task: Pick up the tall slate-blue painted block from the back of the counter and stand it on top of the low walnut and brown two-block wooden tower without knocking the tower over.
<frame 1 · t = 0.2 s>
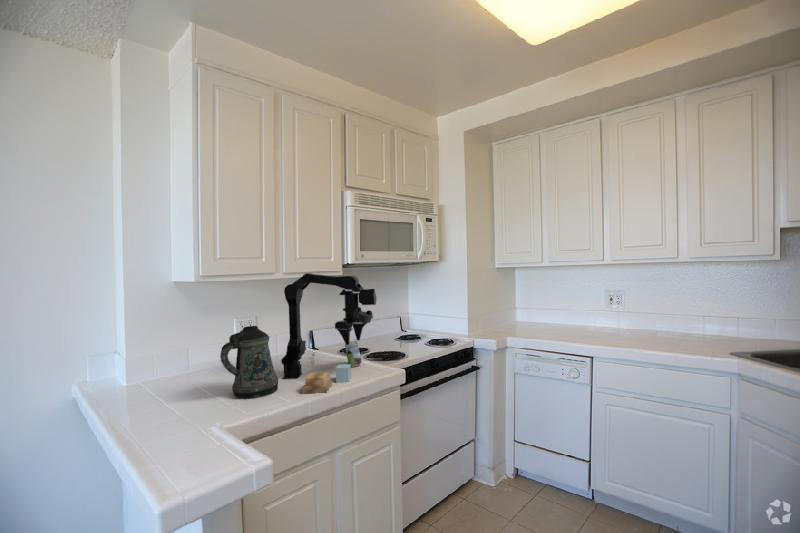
hand: (353, 342, 159), 14 cm above the table, tool pointing down, fingers open, 9 cm apart
beer stein: (253, 393, 143), on the table
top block: (317, 383, 144), point 2 cm above the table, touching bottom block
bottom block: (317, 391, 144), on the table, touching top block
slate block: (343, 380, 153), on the table
beverage can: (353, 366, 175), on the table
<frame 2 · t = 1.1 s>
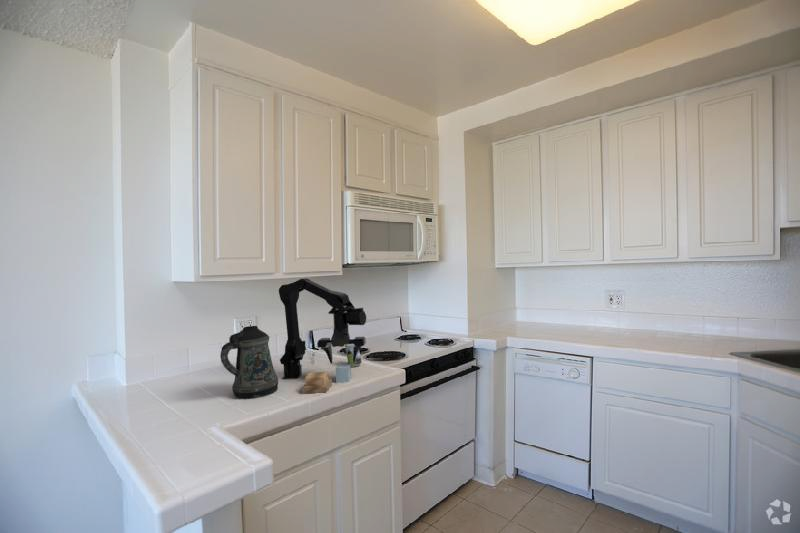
hand: (342, 363, 153), 7 cm above the table, tool pointing down, fingers open, 9 cm apart
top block: (317, 382, 144), point 2 cm above the table
bottom block: (317, 391, 144), on the table
everything else where it was.
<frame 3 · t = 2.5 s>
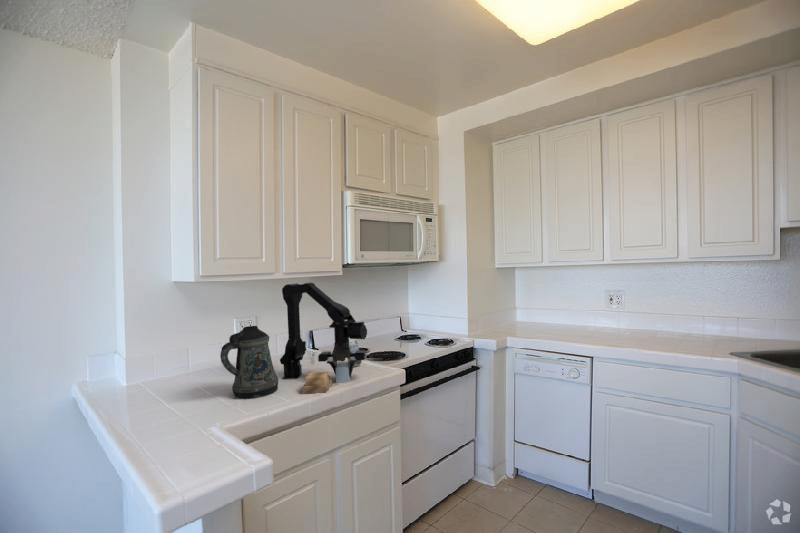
hand: (343, 376, 153), 2 cm above the table, tool pointing down, fingers closed on slate block, 5 cm apart
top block: (317, 382, 144), point 2 cm above the table, touching bottom block
bottom block: (317, 391, 144), on the table, touching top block
slate block: (343, 380, 153), on the table, touching gripper
everything else where it was.
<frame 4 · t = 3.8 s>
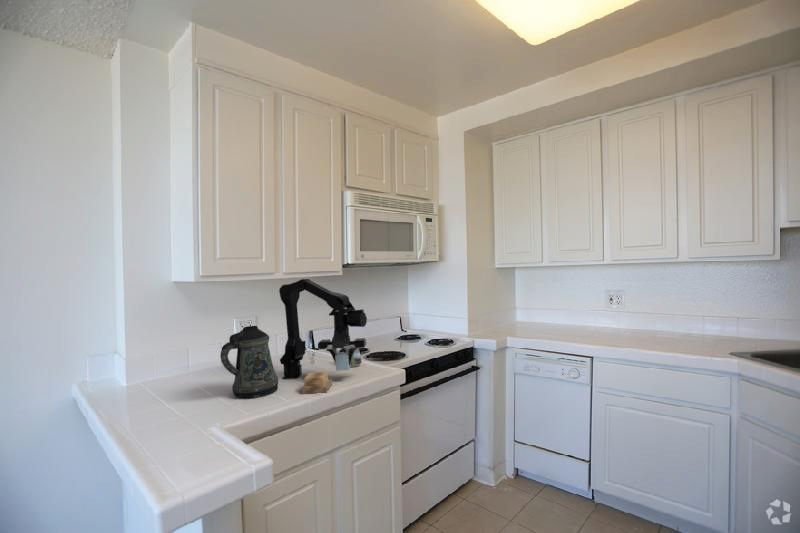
hand: (343, 364, 153), 6 cm above the table, tool pointing down, fingers closed on slate block, 5 cm apart
slate block: (343, 368, 153), point 5 cm above the table, touching gripper
everything else where it was.
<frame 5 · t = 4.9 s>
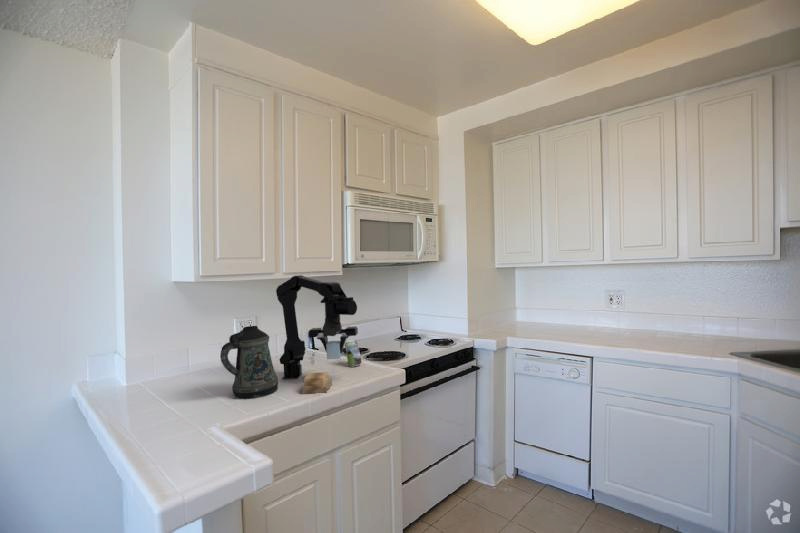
hand: (334, 353, 150), 12 cm above the table, tool pointing down, fingers closed on slate block, 5 cm apart
slate block: (334, 357, 150), point 10 cm above the table, touching gripper
everything else where it was.
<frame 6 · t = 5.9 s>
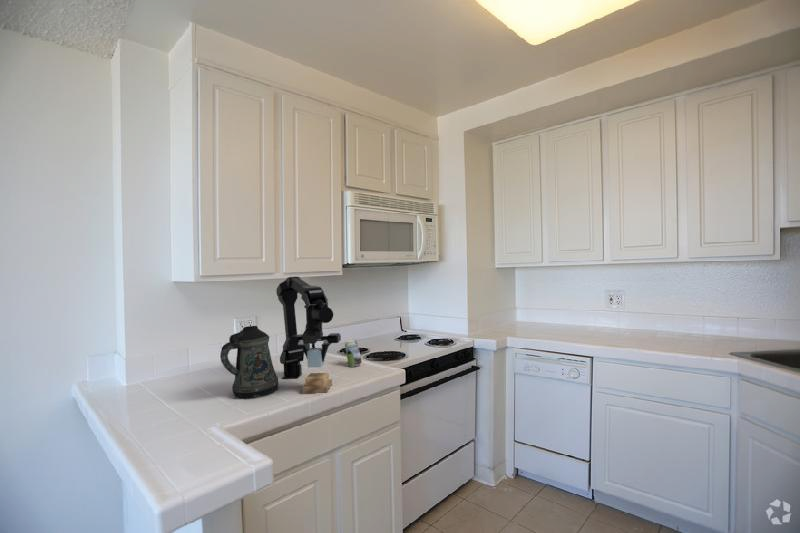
hand: (316, 361, 144), 11 cm above the table, tool pointing down, fingers closed on slate block, 5 cm apart
slate block: (316, 365, 144), point 9 cm above the table, touching gripper
everything else where it was.
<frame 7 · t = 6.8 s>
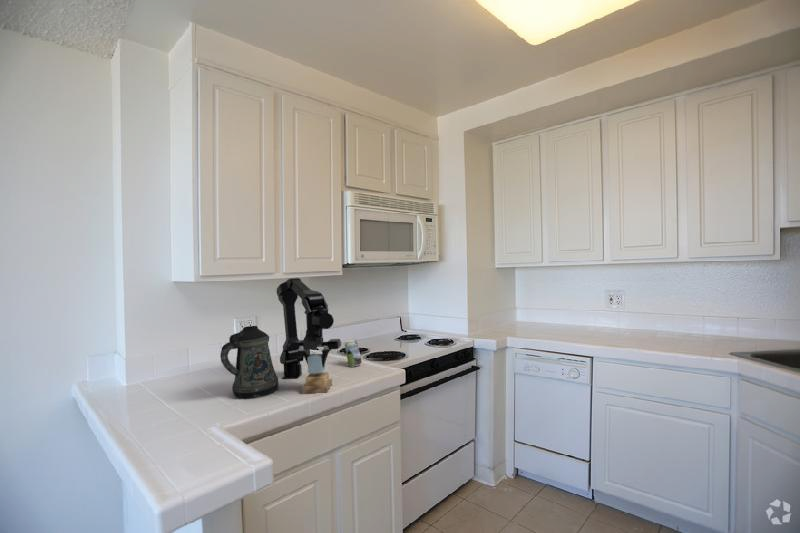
hand: (316, 367, 144), 8 cm above the table, tool pointing down, fingers closed on slate block, 5 cm apart
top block: (317, 383, 144), point 2 cm above the table
bottom block: (317, 391, 144), on the table
slate block: (316, 371, 144), point 7 cm above the table, touching gripper
everything else where it was.
when the fingers open (8 cm above the table, at t = 7.1 s): slate block drops 2 cm, resting on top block.
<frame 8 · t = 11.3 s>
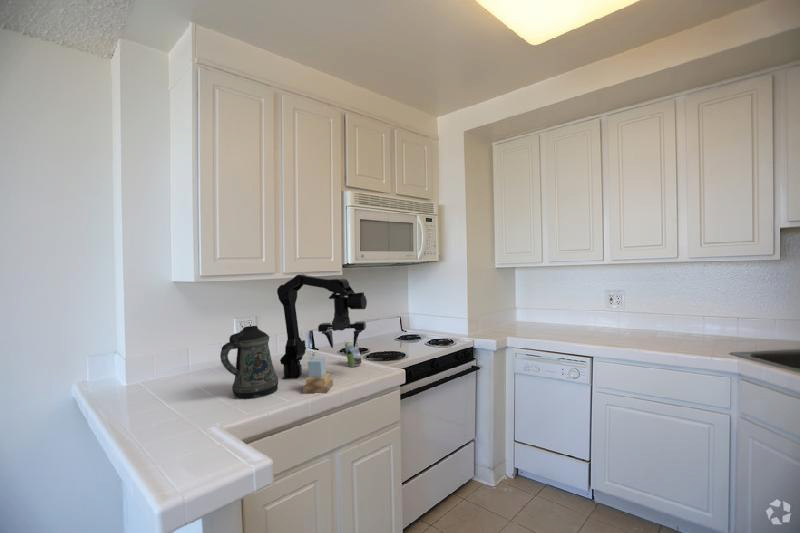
hand: (343, 347, 155), 13 cm above the table, tool pointing down, fingers open, 9 cm apart
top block: (318, 383, 143), point 2 cm above the table, touching bottom block, slate block
bottom block: (318, 391, 144), on the table, touching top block
slate block: (317, 375, 144), point 5 cm above the table, touching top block
everything else where it was.
at the end: slate block 0.4 cm off-centre on the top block, point 3.0 cm above the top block's base; slate block tilted 0°; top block 0.5 cm off-centre on the bottom block, point 3.0 cm above the bottom block's base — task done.
